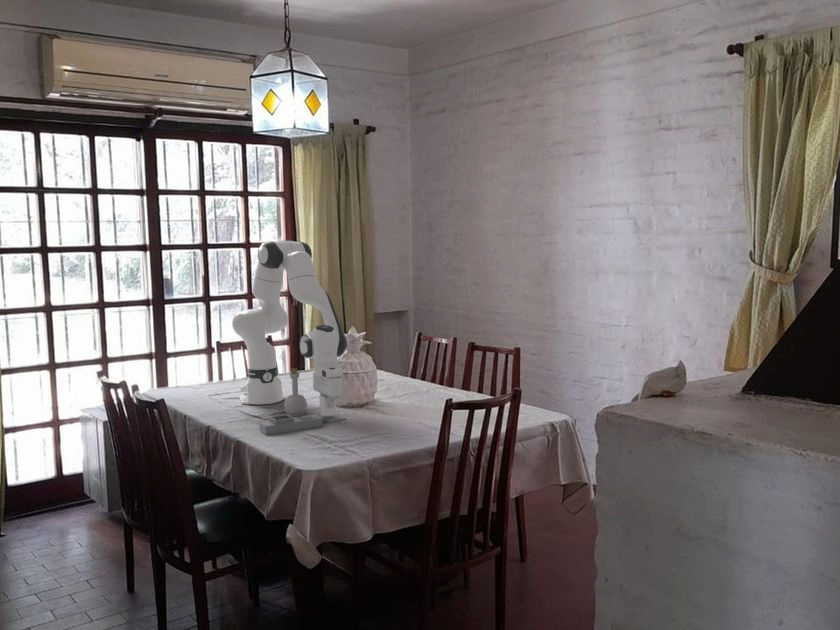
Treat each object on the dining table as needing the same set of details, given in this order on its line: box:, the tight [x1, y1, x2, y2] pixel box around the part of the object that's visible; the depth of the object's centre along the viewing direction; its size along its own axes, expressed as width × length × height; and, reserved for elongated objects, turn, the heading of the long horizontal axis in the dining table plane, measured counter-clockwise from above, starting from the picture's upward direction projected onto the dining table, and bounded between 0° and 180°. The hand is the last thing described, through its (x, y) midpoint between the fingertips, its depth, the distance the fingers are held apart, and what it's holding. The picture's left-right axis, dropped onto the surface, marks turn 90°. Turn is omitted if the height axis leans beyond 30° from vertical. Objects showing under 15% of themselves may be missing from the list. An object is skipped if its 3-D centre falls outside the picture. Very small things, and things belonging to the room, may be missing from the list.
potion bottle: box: [283, 367, 308, 417], centre depth 303 cm, size 9×9×18 cm
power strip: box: [259, 414, 328, 436], centre depth 282 cm, size 7×25×4 cm, turn 119°
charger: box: [319, 395, 337, 416], centre depth 294 cm, size 4×4×7 cm
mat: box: [318, 413, 347, 424], centre depth 294 cm, size 10×10×1 cm
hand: (327, 406), depth 294 cm, fingers closed on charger, 4 cm apart
